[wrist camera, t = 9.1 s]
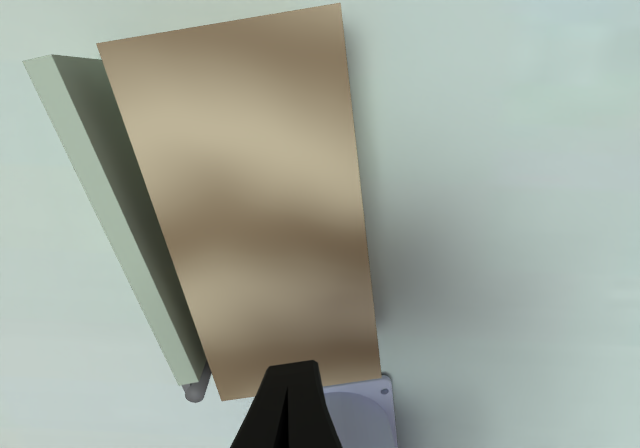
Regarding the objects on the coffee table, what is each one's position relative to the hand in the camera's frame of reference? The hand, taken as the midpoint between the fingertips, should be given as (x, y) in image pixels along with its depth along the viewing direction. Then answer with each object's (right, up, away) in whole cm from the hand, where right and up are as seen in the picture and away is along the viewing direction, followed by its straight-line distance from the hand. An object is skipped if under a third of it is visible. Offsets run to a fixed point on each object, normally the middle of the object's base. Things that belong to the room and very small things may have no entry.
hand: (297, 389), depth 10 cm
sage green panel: (-7, +4, +8) cm, 12 cm away
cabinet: (-2, +5, +8) cm, 10 cm away
